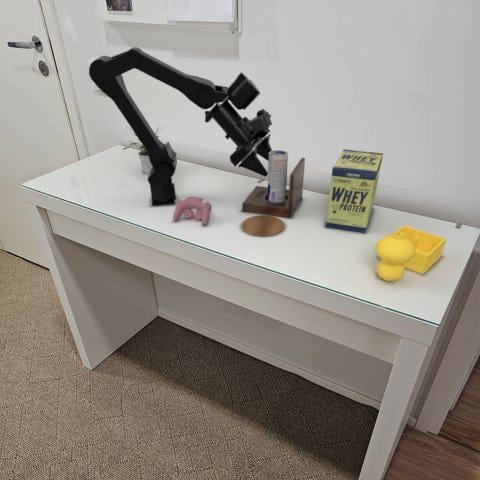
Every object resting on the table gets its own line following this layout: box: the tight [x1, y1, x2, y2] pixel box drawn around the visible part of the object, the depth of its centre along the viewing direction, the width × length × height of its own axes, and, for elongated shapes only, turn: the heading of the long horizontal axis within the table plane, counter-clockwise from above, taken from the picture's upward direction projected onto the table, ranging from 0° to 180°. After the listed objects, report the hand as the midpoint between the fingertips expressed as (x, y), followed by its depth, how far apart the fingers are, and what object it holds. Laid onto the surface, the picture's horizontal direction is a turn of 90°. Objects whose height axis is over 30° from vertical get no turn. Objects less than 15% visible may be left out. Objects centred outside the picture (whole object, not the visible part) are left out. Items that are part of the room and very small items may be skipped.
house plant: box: [125, 120, 166, 175], centre depth 143 cm, size 14×14×16 cm
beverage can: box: [267, 149, 289, 202], centre depth 120 cm, size 5×5×15 cm
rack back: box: [288, 157, 306, 219], centre depth 119 cm, size 1×13×12 cm, turn 161°
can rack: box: [242, 185, 303, 219], centre depth 124 cm, size 14×13×2 cm
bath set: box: [375, 225, 447, 282], centre depth 95 cm, size 20×10×11 cm, turn 138°
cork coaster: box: [241, 214, 285, 237], centre depth 114 cm, size 11×11×1 cm
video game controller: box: [172, 196, 213, 227], centre depth 117 cm, size 10×5×7 cm, turn 71°
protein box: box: [325, 149, 384, 234], centre depth 113 cm, size 10×16×16 cm
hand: (271, 169), depth 119 cm, fingers open, 9 cm apart
